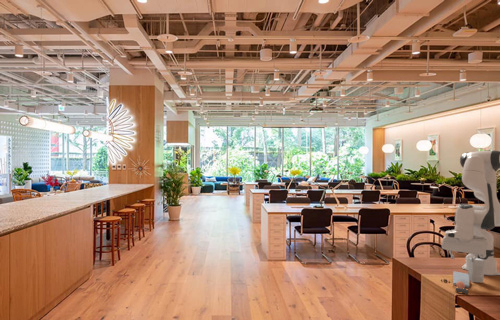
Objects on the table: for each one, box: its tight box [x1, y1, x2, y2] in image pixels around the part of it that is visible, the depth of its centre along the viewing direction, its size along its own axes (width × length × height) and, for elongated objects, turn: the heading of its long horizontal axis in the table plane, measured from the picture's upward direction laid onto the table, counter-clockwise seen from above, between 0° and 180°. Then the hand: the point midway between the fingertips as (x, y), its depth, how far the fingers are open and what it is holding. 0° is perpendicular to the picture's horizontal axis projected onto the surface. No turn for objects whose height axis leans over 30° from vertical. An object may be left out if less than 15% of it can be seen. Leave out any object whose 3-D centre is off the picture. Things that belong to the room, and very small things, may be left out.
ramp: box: [452, 270, 470, 289], centre depth 182 cm, size 12×7×4 cm, turn 150°
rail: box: [455, 287, 469, 295], centre depth 167 cm, size 1×5×2 cm, turn 60°
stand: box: [440, 278, 451, 284], centre depth 184 cm, size 4×4×1 cm
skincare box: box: [467, 258, 485, 284], centre depth 187 cm, size 6×4×12 cm
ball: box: [455, 281, 466, 289], centre depth 174 cm, size 4×4×4 cm
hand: (462, 260), depth 186 cm, fingers open, 8 cm apart
